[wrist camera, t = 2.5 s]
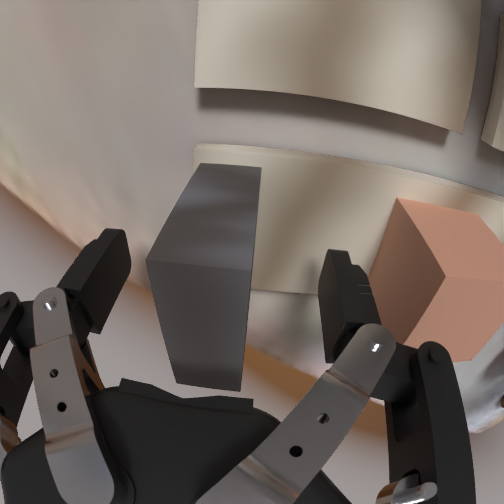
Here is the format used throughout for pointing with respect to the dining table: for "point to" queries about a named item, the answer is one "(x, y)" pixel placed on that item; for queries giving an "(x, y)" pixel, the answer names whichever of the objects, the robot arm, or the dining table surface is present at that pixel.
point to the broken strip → (354, 54)
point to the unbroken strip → (272, 241)
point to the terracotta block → (439, 278)
